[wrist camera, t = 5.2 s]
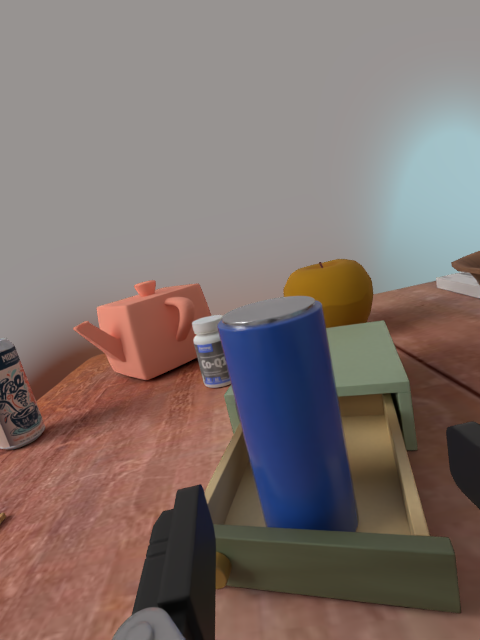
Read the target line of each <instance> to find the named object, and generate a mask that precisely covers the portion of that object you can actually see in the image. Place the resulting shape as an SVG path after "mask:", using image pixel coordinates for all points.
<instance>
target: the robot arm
mask: <svg viewBox="0 0 480 640" xmlns="http://www.w3.org/2000/svg"><path fill="white" fill-rule="evenodd" d="M446 436H447V446H448V456H449V465H450V471H451V475H452V477H453V479H454V481H455V483H456V485H457V486H458V488H459V489H460V490H461V491H462V492H463V493H464V494H465V495H466V496H467V497H468V498H469V499H470V500H471V501H472V502H473V503H474V504H475V505H476V506H477V507H478V508H479V509H480V425H479V424H478V423H476V422H467V423H463V424H459V425H454V426H450V427H448V428H447V430H446ZM149 543H150V545H149V546H148V550H147V554H146V559H145V562H144V567H143V571H142V575H141V579H140V583H139V587H138V591H137V596H136V600H135V604H134V608H133V612H132V615H131V616H130V617H129V618H128V619H127V620H126V621H125V622H124V623H123V624H122V625H121V626H120V628H119V629H118V630H117V632H116V633H115V635H114V637H113V639H112V640H215V591H216V538H215V531H214V526H213V522H212V519H211V515H210V512H209V508H208V504H207V501H206V497H205V494H204V490H203V488H202V486H201V485H196V486H192V487H188V488H184V489H179V490H178V491H177V494H176V499H175V505H174V509H171V510H167V511H163V512H162V514H161V515H160V517H159V518H158V520H157V521H156V523H155V524H154V526H153V529H152V534H151V538H150V542H149Z"/></svg>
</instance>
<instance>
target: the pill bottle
mask: <svg viewBox="0 0 480 640" xmlns="http://www.w3.org/2000/svg"><path fill="white" fill-rule="evenodd" d="M222 317H223V316H222V315H213V316H207V317H203V318H200V319H197V320H195V321H193V322H192V326H193V331H194V333H195V334H197V335H196V336H195V337H194V340H193V341H194V346H195V350H196V354H197V358H198V362H199V366H200V370H201V374H202V378H203V382H204V384H205V386H207V387H209V388H218V387H223V386H227V385H230V384H231V382H230V378H229V374H228V369H227V365H226V361H225V357H224V353H223V349H222V345H221V341H220V337H219V333H218V328H217V324H218V322H219V321H221V320H222Z"/></svg>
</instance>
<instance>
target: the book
mask: <svg viewBox="0 0 480 640" xmlns="http://www.w3.org/2000/svg"><path fill="white" fill-rule="evenodd" d="M436 281H437V288H441V289H444V290H448V291H452V292H456V293H460V294H464V295H468V296H472V297H476V298H480V285H479V284H478V282H477V280H476V279H475V278H474V277H473V276H472V275H471V274H470V273H468V272H461V273H456V274H451V275H447V276H442V277H437V278H436Z"/></svg>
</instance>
